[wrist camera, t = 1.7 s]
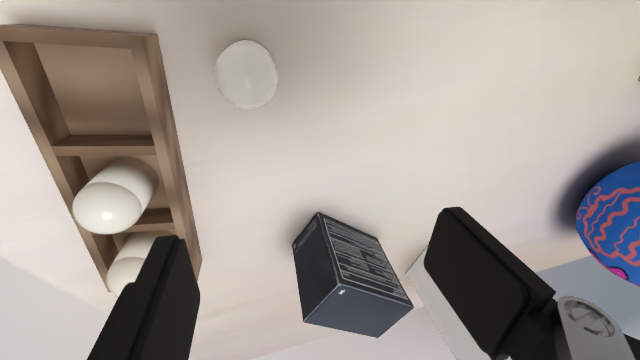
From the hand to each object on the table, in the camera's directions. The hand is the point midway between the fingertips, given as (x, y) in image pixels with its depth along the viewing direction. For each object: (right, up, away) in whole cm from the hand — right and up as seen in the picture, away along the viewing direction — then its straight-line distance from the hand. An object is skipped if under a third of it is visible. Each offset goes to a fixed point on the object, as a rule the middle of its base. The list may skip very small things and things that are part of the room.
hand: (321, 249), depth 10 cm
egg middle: (-18, +3, +15) cm, 23 cm away
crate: (-18, +3, +16) cm, 24 cm away
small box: (+2, -6, +26) cm, 26 cm away
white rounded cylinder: (-6, +12, +13) cm, 19 cm away
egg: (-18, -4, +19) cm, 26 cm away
